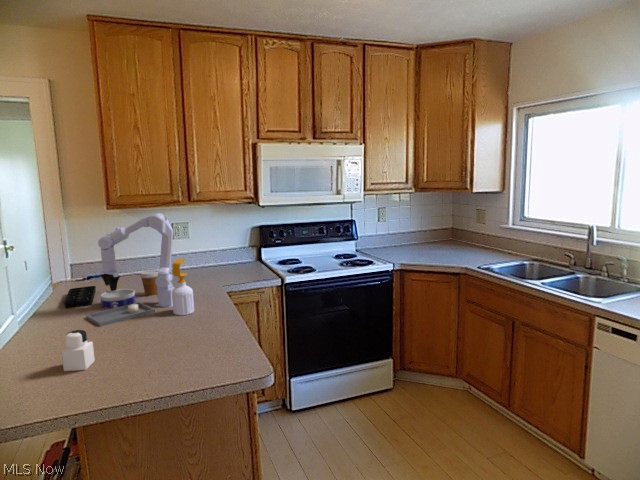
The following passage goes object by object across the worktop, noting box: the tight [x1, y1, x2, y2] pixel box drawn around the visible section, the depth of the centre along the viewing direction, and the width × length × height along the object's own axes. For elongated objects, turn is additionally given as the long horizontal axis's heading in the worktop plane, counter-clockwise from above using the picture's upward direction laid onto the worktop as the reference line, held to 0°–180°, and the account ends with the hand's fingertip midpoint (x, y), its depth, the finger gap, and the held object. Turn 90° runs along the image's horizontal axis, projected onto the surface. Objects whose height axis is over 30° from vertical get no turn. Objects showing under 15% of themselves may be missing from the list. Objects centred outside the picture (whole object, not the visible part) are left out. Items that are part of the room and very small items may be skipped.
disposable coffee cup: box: [140, 269, 159, 297], centre depth 230 cm, size 10×10×12 cm
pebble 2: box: [128, 304, 139, 314], centre depth 201 cm, size 4×4×3 cm
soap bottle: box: [171, 258, 195, 316], centre depth 199 cm, size 9×9×25 cm
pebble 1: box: [105, 285, 118, 293], centre depth 209 cm, size 4×4×3 cm
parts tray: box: [85, 301, 156, 327], centre depth 197 cm, size 24×16×2 cm, turn 136°
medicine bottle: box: [61, 329, 96, 372], centre depth 146 cm, size 7×7×12 cm
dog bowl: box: [99, 288, 136, 310], centre depth 215 cm, size 15×15×6 cm
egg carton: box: [63, 285, 97, 309], centre depth 225 cm, size 18×30×4 cm, turn 36°
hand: (111, 289), depth 209 cm, fingers closed on pebble 1, 4 cm apart
